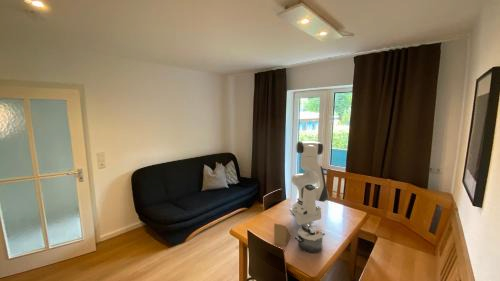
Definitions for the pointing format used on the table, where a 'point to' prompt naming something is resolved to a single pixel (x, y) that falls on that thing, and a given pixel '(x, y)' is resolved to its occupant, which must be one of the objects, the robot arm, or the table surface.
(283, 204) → the table surface
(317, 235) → the lid
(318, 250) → the cooker pot
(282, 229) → the sandwich container
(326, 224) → the table surface
